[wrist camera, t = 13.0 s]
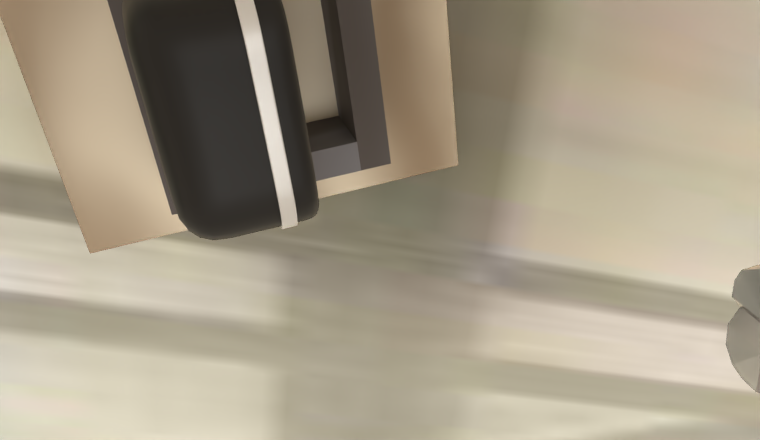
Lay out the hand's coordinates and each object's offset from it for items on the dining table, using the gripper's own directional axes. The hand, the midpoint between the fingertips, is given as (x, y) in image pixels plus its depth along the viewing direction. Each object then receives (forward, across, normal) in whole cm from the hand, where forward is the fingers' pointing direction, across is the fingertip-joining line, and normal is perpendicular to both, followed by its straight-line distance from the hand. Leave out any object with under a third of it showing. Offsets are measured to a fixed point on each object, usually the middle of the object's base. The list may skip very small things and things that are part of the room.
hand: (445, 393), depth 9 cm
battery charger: (+22, +2, 0) cm, 22 cm away
